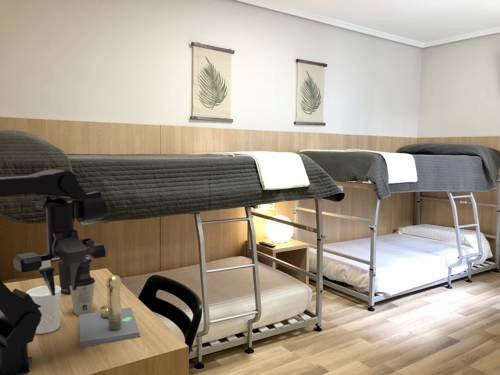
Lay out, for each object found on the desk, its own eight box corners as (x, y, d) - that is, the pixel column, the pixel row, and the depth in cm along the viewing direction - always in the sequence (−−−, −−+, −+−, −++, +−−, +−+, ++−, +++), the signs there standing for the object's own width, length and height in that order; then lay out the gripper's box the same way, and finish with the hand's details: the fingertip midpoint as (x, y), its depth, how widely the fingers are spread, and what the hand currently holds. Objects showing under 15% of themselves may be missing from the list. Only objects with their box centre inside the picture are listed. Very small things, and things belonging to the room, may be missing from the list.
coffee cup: (90, 316, 115) (89, 281, 114) (65, 316, 115) (63, 281, 114) (99, 307, 122) (98, 273, 121) (75, 307, 122) (74, 273, 121)
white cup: (30, 324, 110) (28, 287, 109) (63, 320, 113) (61, 283, 112) (26, 337, 103) (24, 297, 102) (61, 332, 105) (59, 293, 104)
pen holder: (58, 288, 138) (56, 258, 137) (88, 283, 142) (87, 254, 141) (60, 297, 130) (59, 265, 129) (92, 292, 134) (91, 261, 133)
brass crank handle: (99, 313, 114) (98, 264, 112) (116, 310, 116) (115, 262, 114) (106, 332, 102) (104, 278, 101) (125, 328, 104) (123, 276, 103)
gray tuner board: (139, 336, 103) (139, 331, 103) (80, 346, 98) (79, 341, 98) (131, 311, 119) (131, 307, 118) (79, 319, 113) (79, 314, 113)
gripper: (28, 237, 83) (32, 314, 84) (116, 224, 96) (118, 291, 97) (10, 229, 90) (14, 299, 92) (94, 218, 104) (96, 280, 105)
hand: (63, 292), depth 96 cm, fingers open, 4 cm apart
